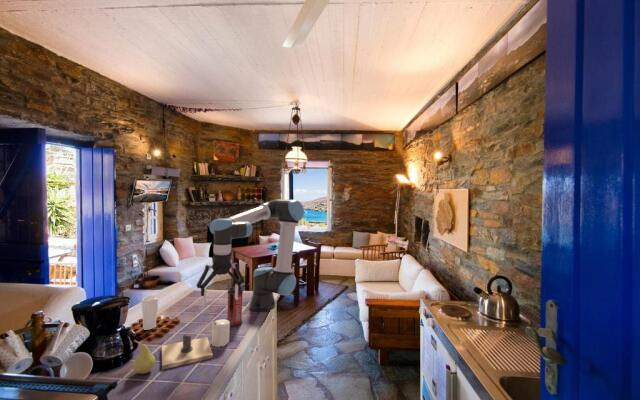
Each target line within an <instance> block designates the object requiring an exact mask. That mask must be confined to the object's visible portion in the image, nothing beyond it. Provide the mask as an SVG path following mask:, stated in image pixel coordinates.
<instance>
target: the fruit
mask: <svg viewBox="0 0 640 400" xmlns="http://www.w3.org/2000/svg"><path fill="white" fill-rule="evenodd" d="M133 342H134V343H135V344H136V343H137V344H138V345H140V352H139V355H138V356H137V357H136V358H135V359H134V362H133V366H132V369H133V371H134V372H135V373H136V374H141V375H144V374H147V373H149V372H151V371H152V370H153V368H154V367H155V365H156V357H155V356H154V355H153V354H152V352H151V351H150V349H149V347H148V346H147V345H146V344H145V343H142V342H139V341H138V340H136V339H134V340H133Z"/></svg>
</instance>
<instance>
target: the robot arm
mask: <svg viewBox="0 0 640 400" xmlns="http://www.w3.org/2000/svg"><path fill="white" fill-rule="evenodd" d="M304 214H305V211H304V206H303V204H302V203H301V202H300V201H299V200H297V199H296V200H295V199H279V198H277V199H274V200H273V199H272V200H270V201H267V202H264V203H261V204H260V205H258V207H255V208H252V209H249V210H246V211H244V212H240V213H238V214H235V215H232V216H228V217H226V218H225V217H224V218H216V219H214V220H213V219H212V221H211V222H210V224H209V231H210V232H211V234H212V235H213V251H212V252H213V257H212V265H208V264H205V266H204V270H203V273H202V274H201V276H200V277H199V280H198V282H197V284H196V287H197V288H198V289H200V296H201V297H202V303H203V304H204V305H206V304H207V286H208V284H210V282H211V281H212V280H213V279H214V278H215V277H216V276H217V275H218V276H221V275H227V274H228V275H229V276H230V277H231V278H232V279H233V280H234V282H236V283H235V285H234V287H235V299H236V300H238V292H240V288H241V285H242V284H245V279H244V277H243V275H242V273H241V271H240V269H239V264H238V263H237V262H234V263H232V254H231V253H232V240H233V239H244V238H247V237H250V236H251V235H252V233H253V225H252V224H255V223H257V222H259V221H262V220H269V219H278V223H279V224H280V230H279V238H278V246H277V254H276V262H275V263H276V264H275V267H271V266H263V267H258V268H256V269H254V271H253V276H252V285H253V286H252V296H251V298H250V302H249V309H250V310H252V311H254V312H269V311H272V310H274V309H275V308H276V300H275V297H274V296H275V295H274V294H277V295H280V296H289V295H291V294H292V293H293V291H294V290H295V288H296V285H297V278H296V276H295V275H294V269H292V263H293V253H294V252H293V250H294V243H295V235H296V227H297V226H298V225H299V222H300V221H301V220H303V217H304ZM232 268H233V269H234V270H235V272H236V274H237V276H238V277H239V279H238V278H237V277H236V276H235V274H234V273H232V271H231V269H232ZM211 269H212V270H213V271H212V272H211V273H210V274H209V276H208V277H207V278H206V276H207V275H208V273H209V271H211Z"/></svg>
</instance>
